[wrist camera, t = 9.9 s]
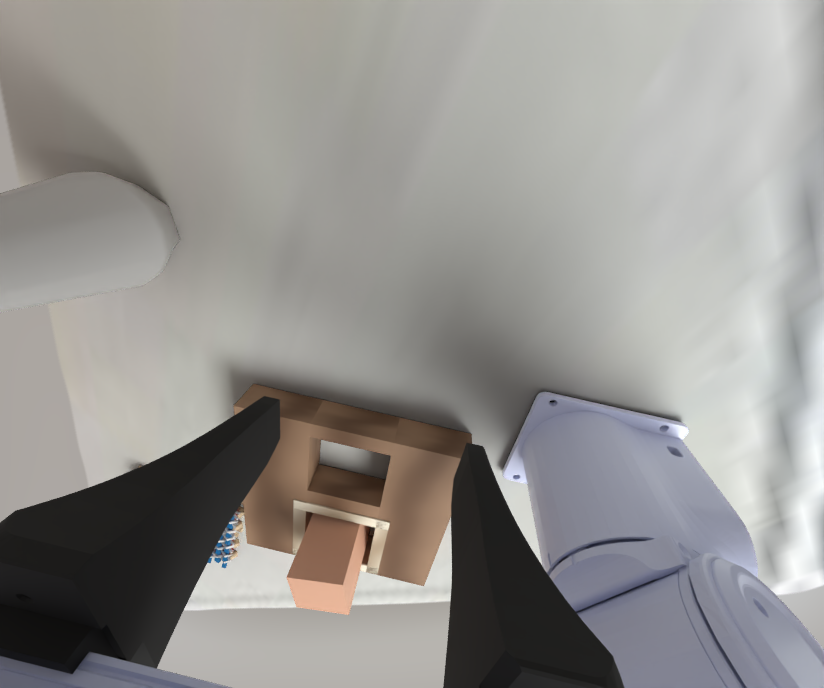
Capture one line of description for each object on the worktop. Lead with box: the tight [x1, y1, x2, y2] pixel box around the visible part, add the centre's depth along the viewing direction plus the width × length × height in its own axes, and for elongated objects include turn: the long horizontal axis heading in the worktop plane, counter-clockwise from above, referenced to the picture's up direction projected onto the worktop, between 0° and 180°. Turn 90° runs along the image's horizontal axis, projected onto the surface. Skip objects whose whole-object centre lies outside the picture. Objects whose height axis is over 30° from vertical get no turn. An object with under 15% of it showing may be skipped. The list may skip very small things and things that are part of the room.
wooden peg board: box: [234, 384, 472, 586], centre depth 28 cm, size 16×16×3 cm
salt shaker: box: [0, 171, 180, 313], centre depth 15 cm, size 6×6×13 cm
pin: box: [287, 513, 371, 615], centre depth 28 cm, size 4×4×7 cm
